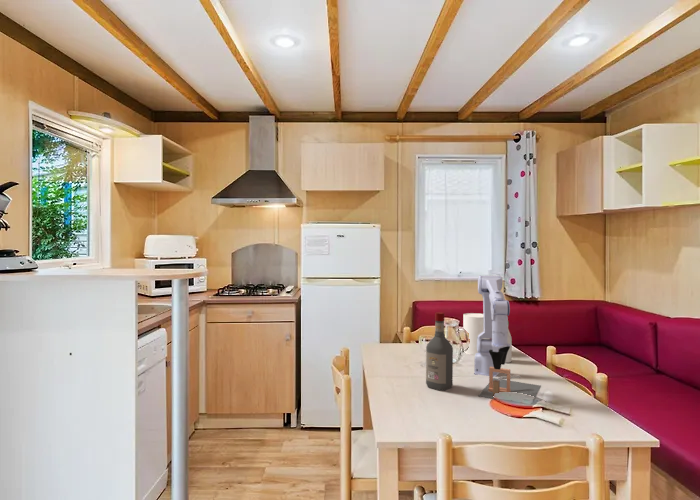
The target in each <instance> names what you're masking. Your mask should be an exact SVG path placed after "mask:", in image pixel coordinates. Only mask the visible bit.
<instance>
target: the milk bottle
mask: <svg viewBox="0 0 700 500" xmlns="http://www.w3.org/2000/svg"><path fill="white" fill-rule="evenodd" d="M509 324H510V323H509V321H508V327H509ZM511 335H512V334H511V332H510V329H509V328H508V344H511V346H510V348H509V350H508V353H507V356H506V361H505V364H506V363H507V364H509V363H510V364H511V362H512V360H513V359H512V353H513V349H512V346H513V345H512V344H513V343H512V341H513V340H512V336H511Z"/></svg>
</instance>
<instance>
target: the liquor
mask: <svg viewBox="0 0 700 500" xmlns="http://www.w3.org/2000/svg"><path fill="white" fill-rule="evenodd" d="M434 321H435V322H434V323H435V324H434V326H435V327H434V328H435V329H434V330H435V331H434V336H433V337H432V338H431V340H430V341H428V343H427V344H426V347H425V348H426V349H425V384H426V386H427V388H428V389H432V390H436V391H442V392H443V391H447V390H449V389H451V388H452V387H453V381H454V380H453V376H454V375H453V374H454V372H453V368H454V362H453V359H454V355H453V354H454V348H453V344H451V342H450V341H449V340H448V339H447V338H446V337H445V336H446V335H445V312H443V311H438V312H437V311H435V313H434Z"/></svg>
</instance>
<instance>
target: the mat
mask: <svg viewBox="0 0 700 500" xmlns="http://www.w3.org/2000/svg"><path fill="white" fill-rule="evenodd" d="M494 380H498V378H497V377H493V381H494ZM500 387H501V388H507V379H502V380H501V382H500ZM541 387H542V385H539V384H533V383H527V382H522V381H515V380H510V389H511V392H517V393H523V394H527V395H531V396H534V397H535V398H536V397H537V395H538V393H539V391H540V389H541ZM488 389H489V383H487V384H486V386H485V387H484V388H483V389H482V390H481V392H480V393H479V394H478V395H477V396H478V397H479V398H484V399H485V398H486V399H491V400H494V399H493V398H494V397H493V392H490V391H488Z"/></svg>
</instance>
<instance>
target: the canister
mask: <svg viewBox="0 0 700 500" xmlns="http://www.w3.org/2000/svg"><path fill="white" fill-rule="evenodd" d="M462 319H463V320H462V321H463V323H462V325H463V326H462V329H463V328H464V329H465V330H466V331H467V332H468V333H469V339H470V344H469V348H468V350H467V351H466V352H465V353H466V354H465V353H464V354H465V355H468V354H469V356H474V357H475V354H476V353H478V351H477V337H478V335H479V334H481V333H482V332H483V331H484V324H483V313H476V312H475V313H474V312H470V313H469V312H467V313H463V318H462ZM483 339H491V338H483Z"/></svg>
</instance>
